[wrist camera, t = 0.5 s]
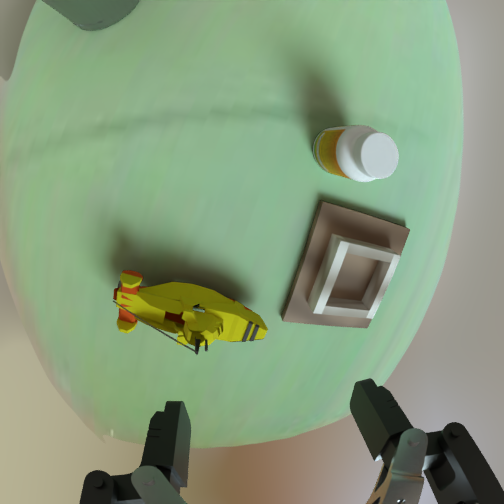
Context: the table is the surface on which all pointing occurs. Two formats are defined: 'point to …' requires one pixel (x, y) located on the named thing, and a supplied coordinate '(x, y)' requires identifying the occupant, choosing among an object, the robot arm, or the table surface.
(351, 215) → the jig board
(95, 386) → the table surface
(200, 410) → the table surface
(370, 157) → the supplement bottle
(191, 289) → the toy boat
